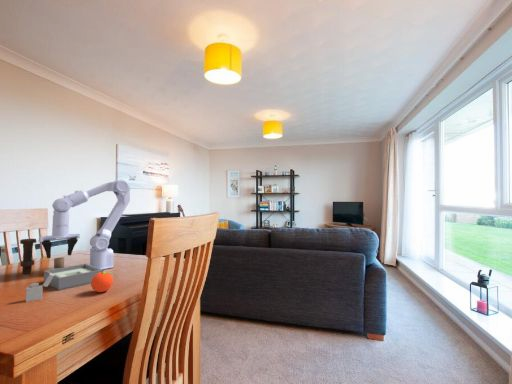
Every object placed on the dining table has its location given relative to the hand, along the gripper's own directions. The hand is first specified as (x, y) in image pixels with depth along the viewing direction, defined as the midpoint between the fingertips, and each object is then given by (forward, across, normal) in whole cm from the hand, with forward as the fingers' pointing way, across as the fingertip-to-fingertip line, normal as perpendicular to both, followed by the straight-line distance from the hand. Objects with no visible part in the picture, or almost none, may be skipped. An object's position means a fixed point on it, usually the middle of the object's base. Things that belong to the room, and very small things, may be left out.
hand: (59, 256), depth 114 cm
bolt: (+8, +8, -12) cm, 16 cm away
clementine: (+8, -2, +37) cm, 38 cm away
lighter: (+8, +14, +28) cm, 32 cm away
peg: (+8, 0, 0) cm, 8 cm away
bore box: (+8, 0, +16) cm, 18 cm away
